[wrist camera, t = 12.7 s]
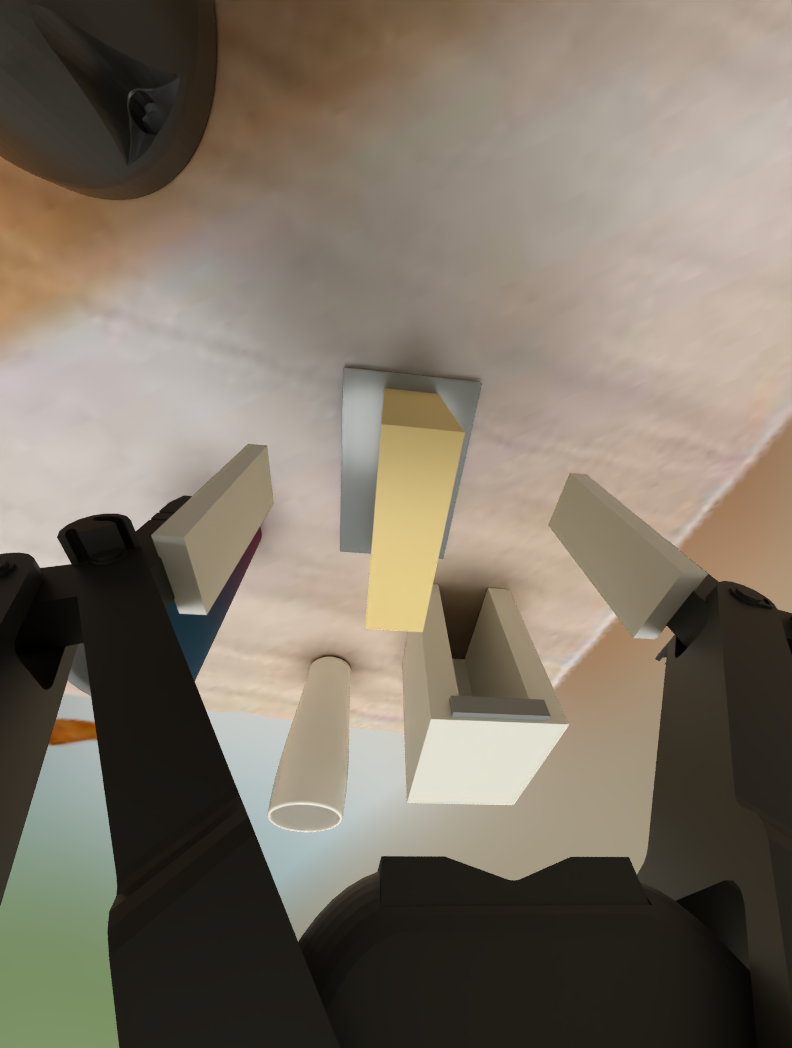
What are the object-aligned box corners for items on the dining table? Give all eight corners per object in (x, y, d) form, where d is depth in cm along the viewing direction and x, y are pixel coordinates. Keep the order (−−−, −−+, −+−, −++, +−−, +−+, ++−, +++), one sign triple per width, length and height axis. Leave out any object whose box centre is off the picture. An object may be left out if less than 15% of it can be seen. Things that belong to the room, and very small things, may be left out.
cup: (185, 497, 29) (27, 634, 16) (263, 497, 29) (165, 632, 17) (208, 559, 33) (92, 710, 20) (277, 558, 33) (206, 708, 20)
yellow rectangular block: (384, 388, 24) (381, 424, 15) (438, 393, 24) (464, 432, 16) (371, 545, 31) (365, 628, 23) (413, 548, 32) (422, 632, 23)
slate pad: (344, 366, 24) (343, 368, 23) (479, 381, 25) (481, 383, 24) (341, 546, 32) (340, 551, 32) (442, 554, 33) (443, 558, 32)
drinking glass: (348, 646, 40) (328, 798, 27) (363, 679, 43) (353, 828, 31) (295, 655, 41) (252, 808, 28) (314, 687, 44) (284, 836, 31)
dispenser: (417, 578, 35) (432, 714, 23) (510, 584, 35) (572, 719, 23) (402, 666, 42) (406, 802, 30) (478, 670, 43) (513, 805, 31)
